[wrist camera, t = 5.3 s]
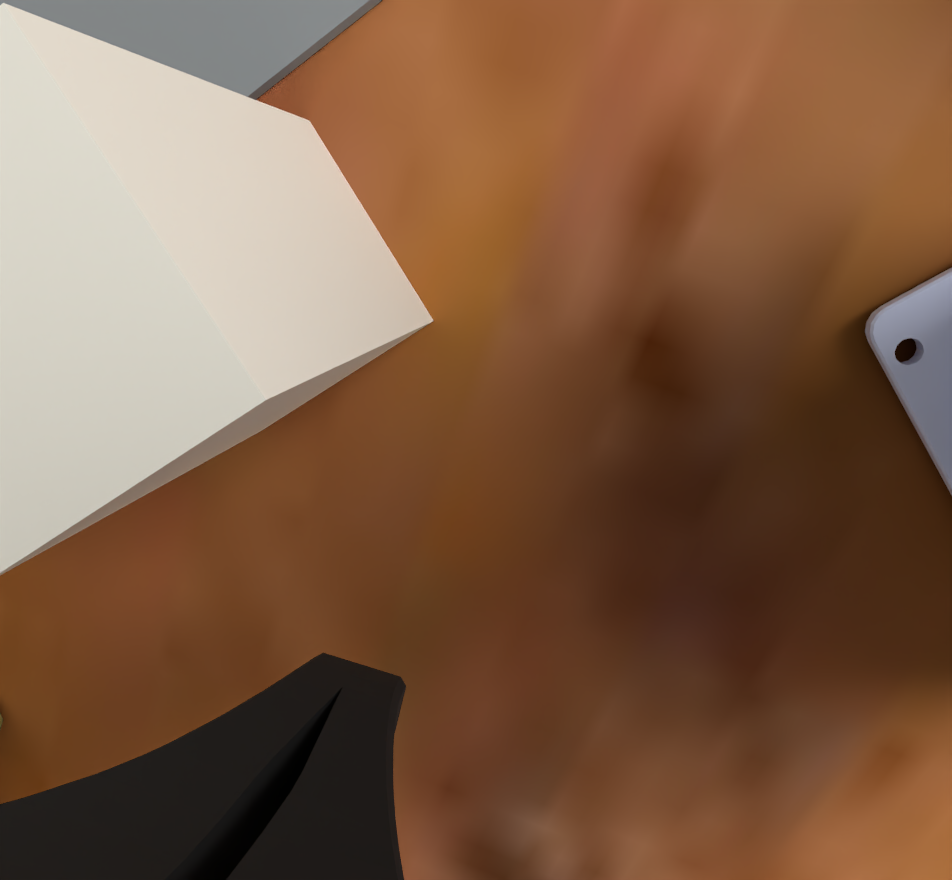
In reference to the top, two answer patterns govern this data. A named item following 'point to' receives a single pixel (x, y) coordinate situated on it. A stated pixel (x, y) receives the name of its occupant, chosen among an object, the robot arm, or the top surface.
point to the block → (161, 277)
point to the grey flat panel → (211, 33)
